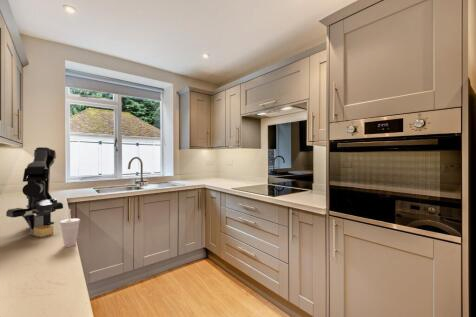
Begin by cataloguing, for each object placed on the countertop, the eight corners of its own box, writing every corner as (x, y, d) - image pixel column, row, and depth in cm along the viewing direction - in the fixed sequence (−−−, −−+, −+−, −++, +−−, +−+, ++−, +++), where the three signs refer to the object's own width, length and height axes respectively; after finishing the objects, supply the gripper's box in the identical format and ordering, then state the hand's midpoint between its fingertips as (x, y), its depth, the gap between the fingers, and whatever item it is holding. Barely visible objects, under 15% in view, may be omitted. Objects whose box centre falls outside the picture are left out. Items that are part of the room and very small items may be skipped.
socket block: (33, 236, 99) (33, 228, 99) (46, 232, 104) (46, 225, 104) (41, 237, 97) (41, 229, 97) (53, 234, 101) (53, 226, 101)
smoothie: (77, 240, 94) (77, 206, 94) (82, 244, 90) (82, 209, 90) (57, 245, 89) (57, 209, 89) (62, 249, 85) (62, 212, 85)
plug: (30, 234, 102) (30, 216, 102) (38, 232, 105) (38, 214, 105) (35, 235, 100) (35, 217, 100) (43, 233, 103) (43, 215, 103)
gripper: (20, 198, 91) (20, 237, 91) (70, 191, 108) (70, 224, 108) (5, 196, 95) (5, 233, 95) (56, 190, 112) (56, 222, 112)
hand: (36, 228), depth 103 cm, fingers closed on plug, 3 cm apart
